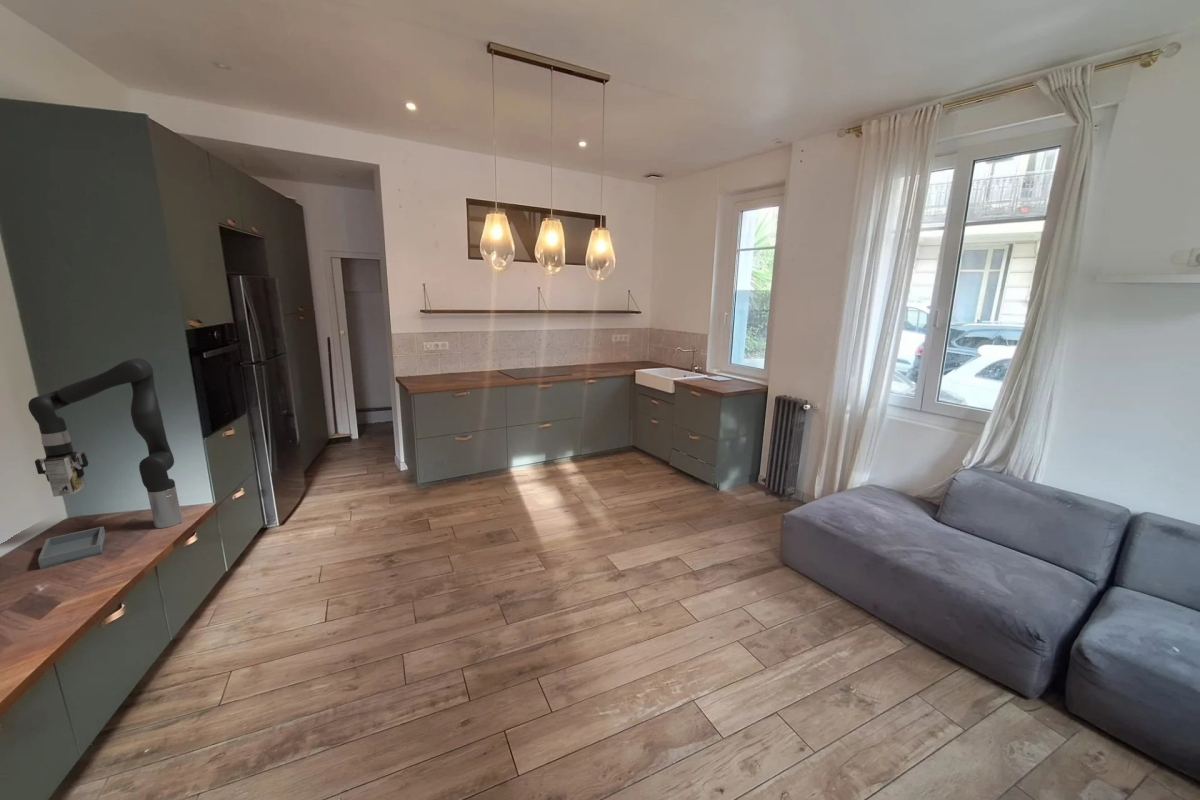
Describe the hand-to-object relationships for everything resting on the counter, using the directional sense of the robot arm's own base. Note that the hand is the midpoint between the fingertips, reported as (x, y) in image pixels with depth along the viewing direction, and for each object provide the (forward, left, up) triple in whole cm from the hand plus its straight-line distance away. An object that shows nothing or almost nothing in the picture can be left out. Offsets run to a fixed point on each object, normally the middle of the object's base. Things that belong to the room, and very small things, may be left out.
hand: (66, 479), depth 192 cm
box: (0, +17, -26) cm, 30 cm away
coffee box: (0, 0, -6) cm, 6 cm away
